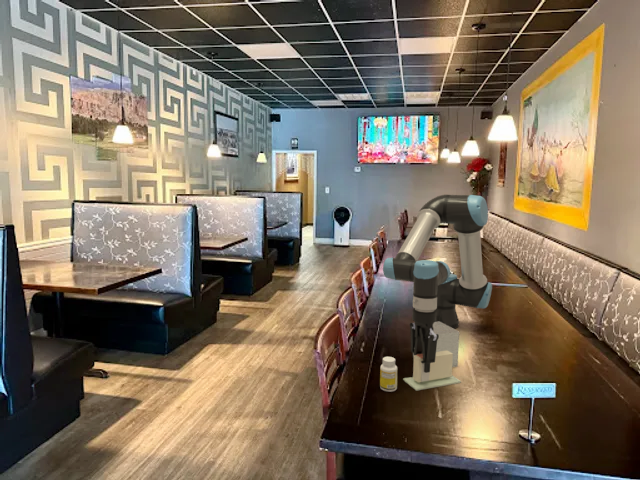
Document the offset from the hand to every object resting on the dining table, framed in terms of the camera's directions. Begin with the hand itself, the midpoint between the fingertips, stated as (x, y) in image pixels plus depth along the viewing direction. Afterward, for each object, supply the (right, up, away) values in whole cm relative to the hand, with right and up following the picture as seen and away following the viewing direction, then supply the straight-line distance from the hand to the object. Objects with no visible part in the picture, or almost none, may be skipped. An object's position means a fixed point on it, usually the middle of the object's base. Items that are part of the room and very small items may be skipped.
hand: (421, 378), depth 145 cm
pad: (+4, -1, +2) cm, 4 cm away
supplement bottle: (-11, -2, -3) cm, 12 cm away
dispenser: (+9, +1, +17) cm, 19 cm away
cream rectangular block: (+4, 0, +1) cm, 4 cm away
